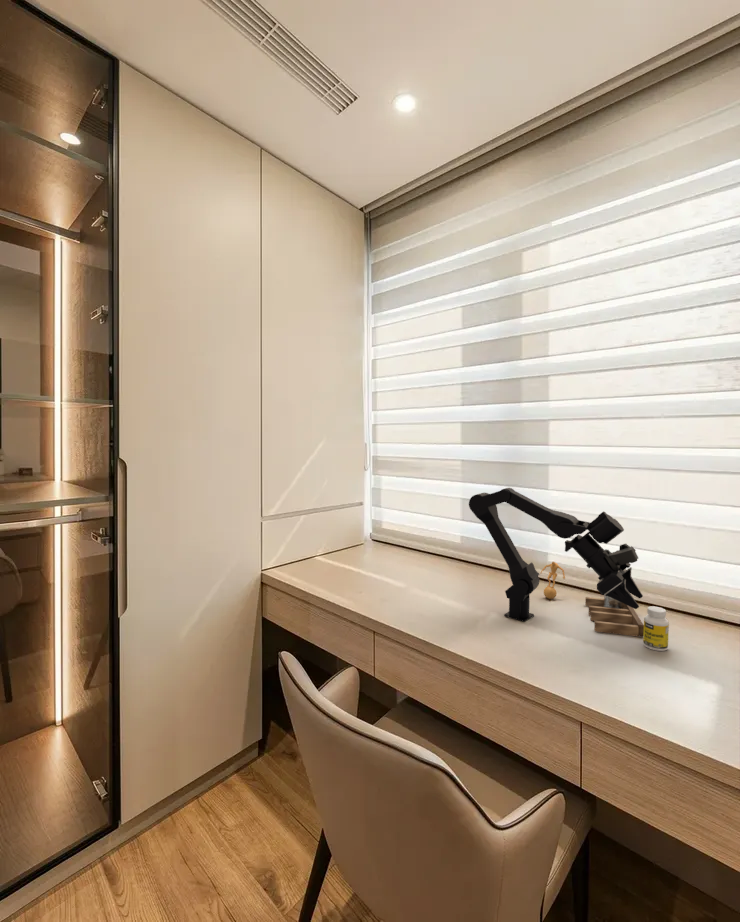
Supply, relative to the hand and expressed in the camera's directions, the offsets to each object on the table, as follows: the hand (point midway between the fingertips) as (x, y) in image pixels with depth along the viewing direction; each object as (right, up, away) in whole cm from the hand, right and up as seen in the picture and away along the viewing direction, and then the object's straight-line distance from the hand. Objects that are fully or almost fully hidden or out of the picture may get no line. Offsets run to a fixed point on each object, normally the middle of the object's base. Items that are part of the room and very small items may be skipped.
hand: (639, 602), depth 120 cm
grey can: (+4, -9, +21) cm, 23 cm away
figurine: (-9, -9, +34) cm, 36 cm away
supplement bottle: (+3, -11, -2) cm, 11 cm away
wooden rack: (+1, -10, +16) cm, 19 cm away
